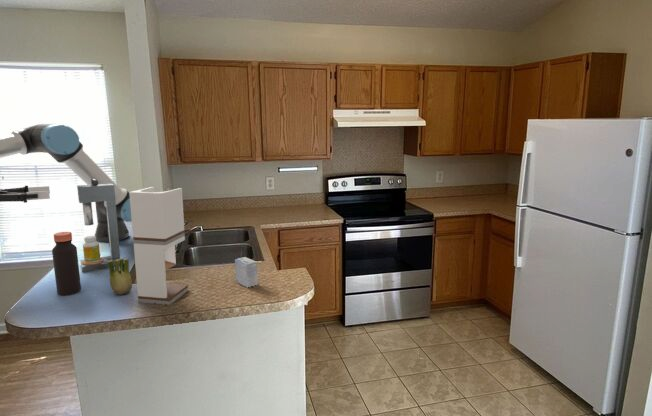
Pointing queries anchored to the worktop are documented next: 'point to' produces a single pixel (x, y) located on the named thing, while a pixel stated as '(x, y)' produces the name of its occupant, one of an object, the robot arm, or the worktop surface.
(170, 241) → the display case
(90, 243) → the supplement bottle
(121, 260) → the fennel bulb
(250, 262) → the medicine box
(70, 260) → the vinegar
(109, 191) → the arbor press
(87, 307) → the worktop surface
